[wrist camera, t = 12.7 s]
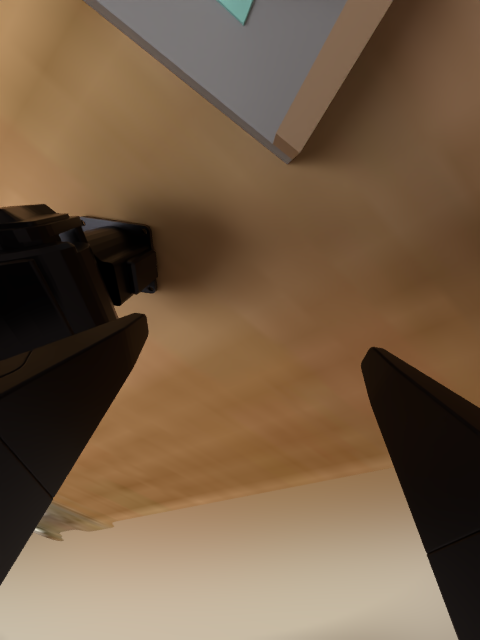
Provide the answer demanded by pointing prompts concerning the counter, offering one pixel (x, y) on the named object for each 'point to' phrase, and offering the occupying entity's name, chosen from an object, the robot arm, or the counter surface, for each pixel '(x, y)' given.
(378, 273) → the counter surface
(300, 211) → the counter surface
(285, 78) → the channel
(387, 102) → the counter surface
